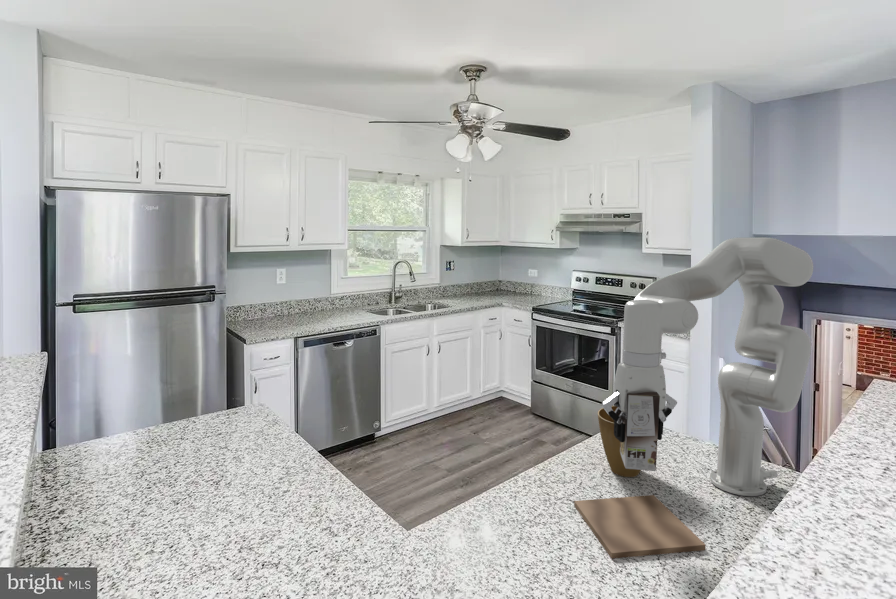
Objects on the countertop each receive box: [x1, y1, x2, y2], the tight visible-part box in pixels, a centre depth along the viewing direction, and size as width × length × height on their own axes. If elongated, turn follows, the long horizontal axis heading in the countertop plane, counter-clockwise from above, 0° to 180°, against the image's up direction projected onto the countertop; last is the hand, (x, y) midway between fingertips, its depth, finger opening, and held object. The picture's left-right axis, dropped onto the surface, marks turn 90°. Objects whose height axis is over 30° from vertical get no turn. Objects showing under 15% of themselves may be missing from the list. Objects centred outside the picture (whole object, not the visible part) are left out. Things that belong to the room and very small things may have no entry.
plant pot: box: [597, 405, 642, 478], centre depth 136 cm, size 15×15×16 cm
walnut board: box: [573, 494, 707, 560], centre depth 111 cm, size 20×20×1 cm
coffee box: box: [620, 392, 660, 472], centre depth 108 cm, size 9×6×16 cm
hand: (638, 438), depth 108 cm, fingers closed on coffee box, 7 cm apart
